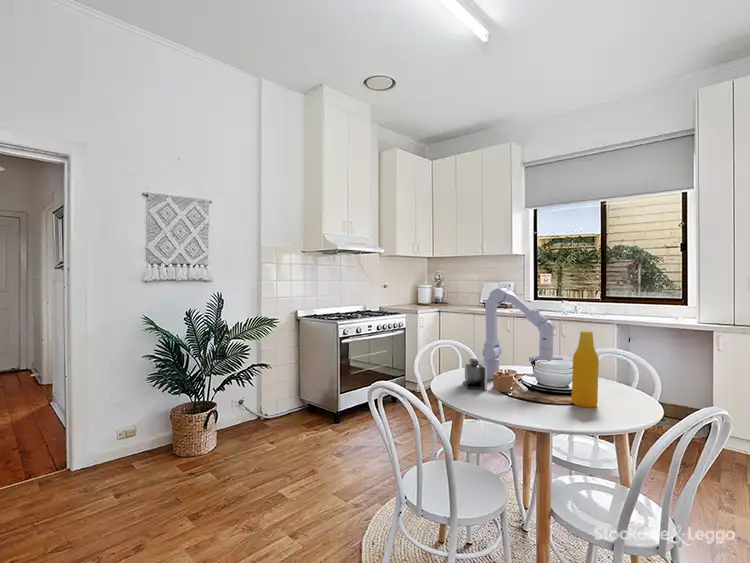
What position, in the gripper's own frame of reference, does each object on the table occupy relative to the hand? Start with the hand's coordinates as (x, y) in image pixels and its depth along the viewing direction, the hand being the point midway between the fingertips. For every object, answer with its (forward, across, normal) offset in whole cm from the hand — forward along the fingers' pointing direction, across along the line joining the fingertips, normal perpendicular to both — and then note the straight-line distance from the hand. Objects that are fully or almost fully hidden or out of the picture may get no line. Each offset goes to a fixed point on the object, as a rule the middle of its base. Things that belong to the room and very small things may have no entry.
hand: (545, 377), depth 188 cm
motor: (+4, -32, 0) cm, 32 cm away
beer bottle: (+5, +6, -23) cm, 24 cm away
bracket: (+5, -18, +1) cm, 18 cm away
